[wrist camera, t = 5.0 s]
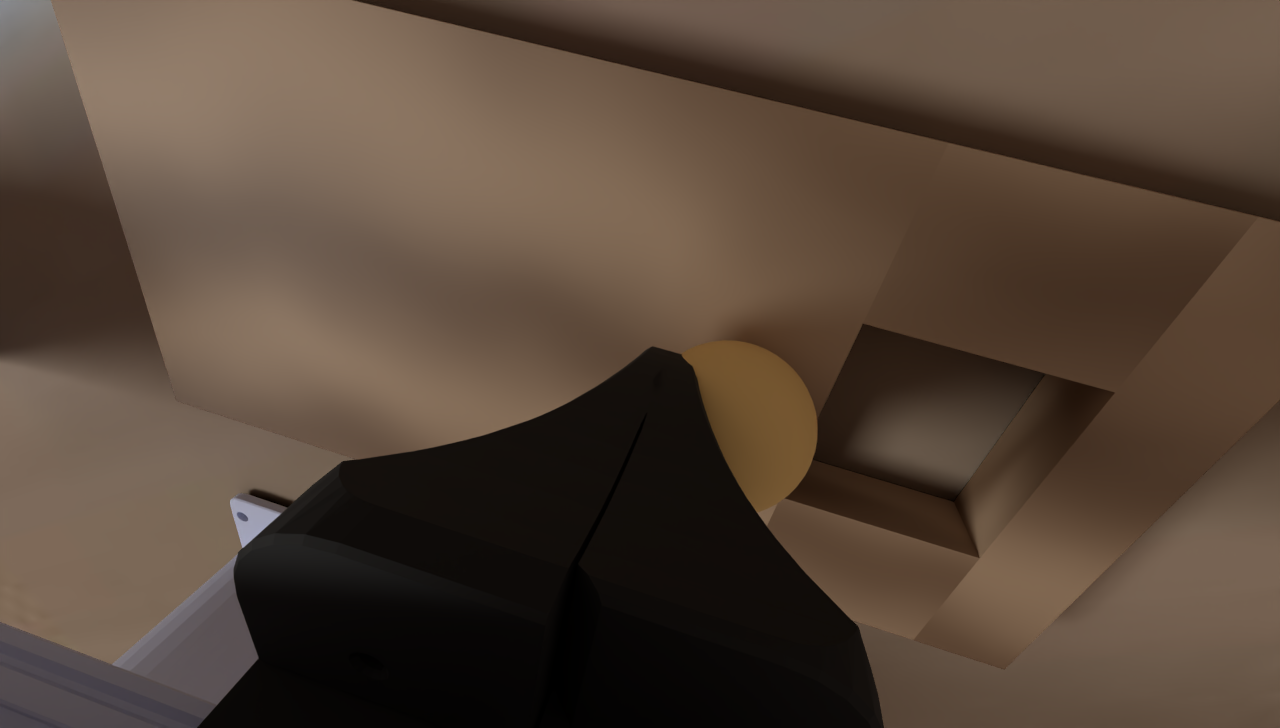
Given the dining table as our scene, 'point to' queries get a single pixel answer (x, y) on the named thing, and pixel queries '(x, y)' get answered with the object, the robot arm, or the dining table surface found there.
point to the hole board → (665, 277)
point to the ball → (757, 417)
